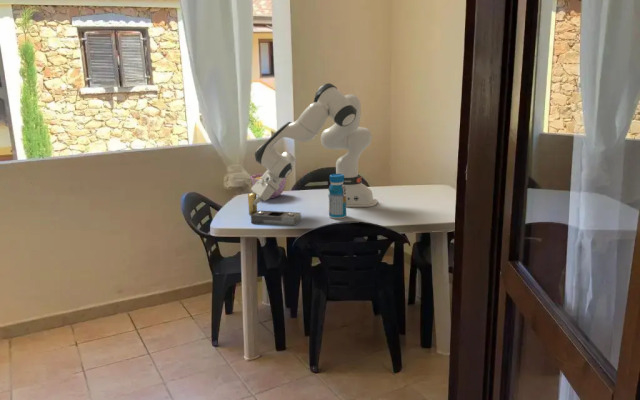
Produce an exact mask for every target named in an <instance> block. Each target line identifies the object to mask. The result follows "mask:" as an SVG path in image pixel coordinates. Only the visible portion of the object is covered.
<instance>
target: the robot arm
mask: <svg viewBox="0 0 640 400" xmlns="http://www.w3.org/2000/svg"><path fill="white" fill-rule="evenodd" d="M361 105H362V104H361V100H360V99H359V97H358V96H356V95H355V94H351V93H350V94H346V95H344V94H343V93H342V92H341V90H339V89H338V87H337V86H336V85H334V84H332V83H330V82H329V83H324V84H322V85H321V86H319V88H318V89H317V91H316V92H315V96H314V100H313V102H312V103H310V104H309V105H308V106H307V107H306V108H305V109H304V110H303V112H302V113H301V114H300V115H299V117H298V118H297V119H296V120H295V121H287V122H286V123H284V124H283V125H282V126H281V127H280V128H279V129H278V130H277V131H275V132H274V134H272V136H270V137H269V139H267V141H265V142H264V143H263V144H261V145H260V146H259V147H258V148H257V149H256V151H255V153H254V158H255V162H257V163H258V164H259V165H262V166H263V167H264V168H266V171H264V172H263V173H264V174H263V175H262V177H261V178H262V179H259V180H258V181H257V182H256V183H255V184H254V185H253V184H252V186H251V189H250V190H251V191H252V192H251V193H256V200H255V201H253V202H252V204H253V205H256V204H257V205H258V203H261V202H262V201H264V202H265V201H267V200H269V199H270V198H269V197H270V196H271V195H272V194H273V193H274V192H275V190H276V191H277V190H278V189H279V183H280V182H281V181H282V179H283V178H286V177H288V176H289V175H290V174H291V172H292V171H293V167H294V166H295V164H296V159H295V157H294V156H293V155H292V154H291V153H289V152H288V151H284V152H283V153H280V152H279V151H278V150H277V149H276V148H275V146H276V145H277V144H278V143H279V142H280V141H281V140H283V138H284V139H285V138H288V139H291V140H294V141H296V142H301V143H307V142H310V141H313V140H314V138H316V137H317V136H318V134H319V133H320V131H321V130H322V128H323V126H324V125H325V123H326V121H327V119H328V118H329V117H330V118H331V119H332V120H333V121H334V124H333V125H331V126H330V127H328V128H325V129H324V130H323V131H322V132H321V135H320V143H321V145H322V147H323V148H324V149H327V150H332V151H333V150H334V151H335V150H336V151H337V150H347V152H346V153H345V154H344V155H342V156H340V157H338V158H337V160H336V162H335V174H343V175H344V182H343V184H344V185H345V187H346V191H345V192H346V208H350V207H351V208H353V207H354V208H355V207H357V208H358V207H359V208H361V207H362V208H364V207H366V208H368V207H370V208H371V207H374V206H375V205H377V204H378V199H377V198H374V195H373V194H374V193H373V192H372V190H371V189H370V188H369V187H368V186H367V185H365V184H363V183H362V182H363V180H362V179H363V176H359V175H358V174H359V173H358V170H359V159H360V158H361V157H360V156H361V154H362V153H363V152H364V150H365V149H367V148H368V147H369V146H370V145H371V144H372V139H373V136H372V135H373V134H372V132H371V131H370V130H369V128H368V127H363V126H360V121H361V115H362V114H361V113H362V106H361ZM286 179H287V178H286Z"/></svg>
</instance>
